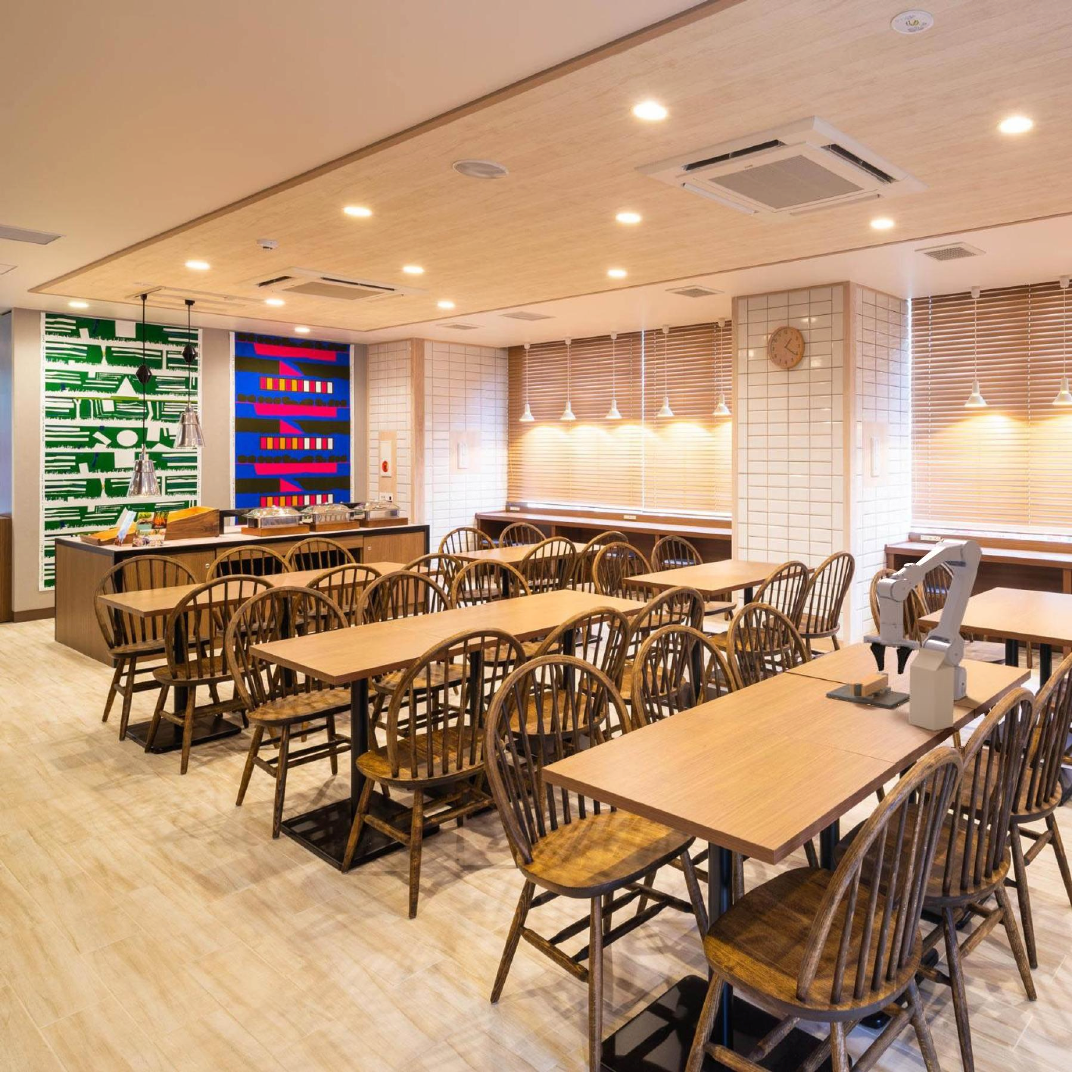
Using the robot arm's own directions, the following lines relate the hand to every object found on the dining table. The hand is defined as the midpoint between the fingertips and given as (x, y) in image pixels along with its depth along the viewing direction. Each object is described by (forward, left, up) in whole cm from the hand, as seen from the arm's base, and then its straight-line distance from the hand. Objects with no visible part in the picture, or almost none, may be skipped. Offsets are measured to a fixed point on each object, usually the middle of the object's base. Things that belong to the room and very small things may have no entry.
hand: (890, 672), depth 225 cm
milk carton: (-15, +14, -9) cm, 22 cm away
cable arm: (+7, -2, -6) cm, 9 cm away
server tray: (+6, -3, -8) cm, 11 cm away
